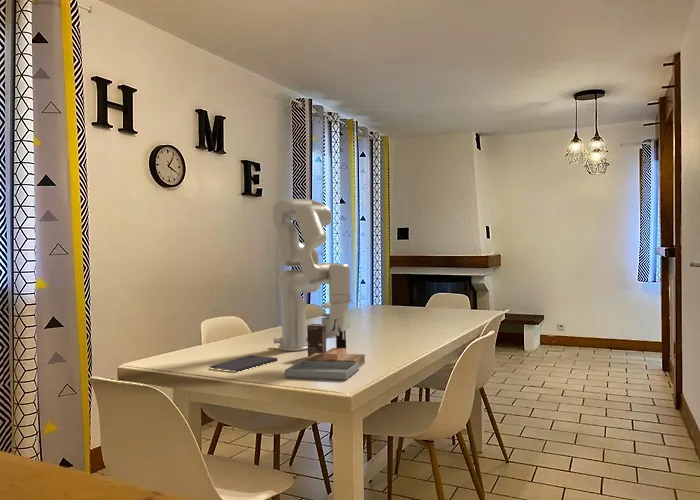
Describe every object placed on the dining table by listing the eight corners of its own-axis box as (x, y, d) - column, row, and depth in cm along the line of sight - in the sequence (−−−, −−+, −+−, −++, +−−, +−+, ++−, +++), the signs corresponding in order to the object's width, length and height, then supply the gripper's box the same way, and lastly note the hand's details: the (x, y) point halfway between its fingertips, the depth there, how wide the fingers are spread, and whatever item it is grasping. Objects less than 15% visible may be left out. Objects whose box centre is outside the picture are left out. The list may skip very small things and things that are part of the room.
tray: (284, 377, 177) (284, 369, 177) (301, 367, 191) (301, 360, 191) (346, 380, 171) (346, 372, 171) (358, 370, 185) (358, 362, 185)
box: (307, 358, 207) (306, 325, 207) (311, 355, 211) (311, 323, 211) (322, 358, 205) (322, 325, 205) (327, 356, 210) (326, 324, 210)
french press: (315, 336, 255) (314, 281, 255) (330, 333, 265) (329, 279, 265) (332, 338, 250) (331, 282, 250) (348, 334, 259) (346, 280, 259)
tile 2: (328, 356, 194) (328, 350, 194) (333, 353, 199) (332, 347, 199) (342, 356, 193) (342, 350, 193) (346, 353, 198) (346, 348, 198)
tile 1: (323, 359, 189) (323, 353, 189) (328, 356, 194) (327, 350, 194) (337, 359, 188) (337, 353, 188) (341, 356, 193) (341, 351, 193)
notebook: (236, 374, 186) (277, 362, 204) (236, 369, 186) (277, 357, 204) (208, 370, 192) (250, 359, 210) (208, 366, 192) (250, 355, 210)
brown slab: (304, 367, 191) (304, 359, 191) (315, 361, 201) (315, 352, 201) (356, 369, 186) (356, 360, 185) (364, 363, 196) (364, 354, 196)
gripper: (336, 296, 208) (337, 346, 208) (323, 300, 194) (324, 354, 194) (355, 296, 206) (357, 347, 206) (344, 301, 192) (345, 355, 192)
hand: (341, 350), depth 200 cm, fingers closed
